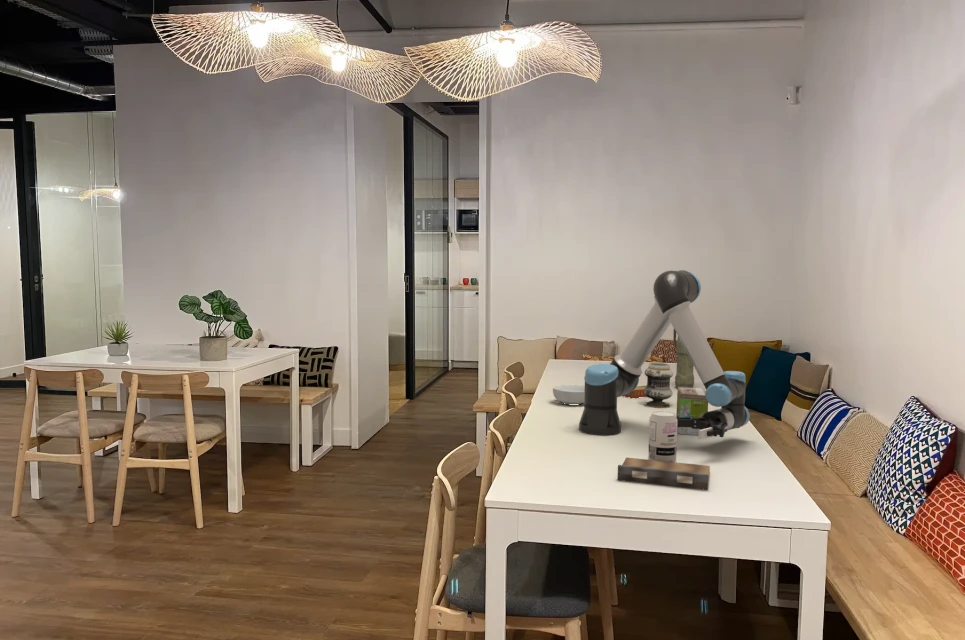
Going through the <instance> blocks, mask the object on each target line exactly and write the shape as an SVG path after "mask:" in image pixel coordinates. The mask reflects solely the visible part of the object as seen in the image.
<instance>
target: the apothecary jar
mask: <svg viewBox="0 0 965 640" xmlns="http://www.w3.org/2000/svg"><path fill="white" fill-rule="evenodd" d="M644 375H645V376H646V377H647V380H646V381H647V383H646V385H647V387H646V388H645V389H644V394H645V396H647V397H646V398H648V399H651V401H647V402H646V403H645V406H647V407H651V408H658V409H659V408H661V409H662V408H668V407H670V404H668V403H667V401H666V402H665V401H664V400H668V399H670V398H671V397H672V396H673V393H674V392H673V390H672V389H671V378H672V377H673V376H674V372H673V370H672V369H671V368H670V364H669V363H665V362H650V363H649V364H648V367H647V368H645V370H644Z"/></svg>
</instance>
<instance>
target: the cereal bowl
mask: <svg viewBox="0 0 965 640" xmlns="http://www.w3.org/2000/svg"><path fill="white" fill-rule="evenodd" d="M552 394H553V396H554V398H555V400H556V401H558V402H561V403H562V404H563V403H565V404H564V405H566V404H581V403H582V404H583V403H584V396H585V384H578V383H577V384H573V383H572V384H571V383H567V384H566V383H565V384H558V385H553V386H552ZM582 404H581V405H582Z"/></svg>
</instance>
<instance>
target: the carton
mask: <svg viewBox="0 0 965 640" xmlns="http://www.w3.org/2000/svg"><path fill="white" fill-rule="evenodd" d="M646 387H647V384H646V385H637V387H636V388H635V389H634V390H633V391H632V392H631V393H629V394H627V395H624V396H626V397H625V398H628V397H630V398H629V399H632V398H635V399H640V398H639V397H644V398H648V397H647V396H645V394H644V389H645V388H646ZM624 396H623V397H624Z"/></svg>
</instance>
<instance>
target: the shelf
mask: <svg viewBox="0 0 965 640" xmlns="http://www.w3.org/2000/svg"><path fill="white" fill-rule="evenodd" d="M710 470H711V465H707V464H706V465H705V464H697V463H695V464H694V463H688V462H687V463H686V462H677V461H676V462H667V461H657V460H649V459H648V458H647V459H645V458H634V457H625V459H624V461H623V463H622V464H618V465H617V481H622V480H625V481H624V482H631V481H633V482H632V483H640V482H641V484H648V485H649V484H650V485H651V484H652V485H660V486H669V487H677V488H687V489H696V490H703V489H704V491H708V489H709V483H708V482H709V479H710V473H711V472H710Z"/></svg>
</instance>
